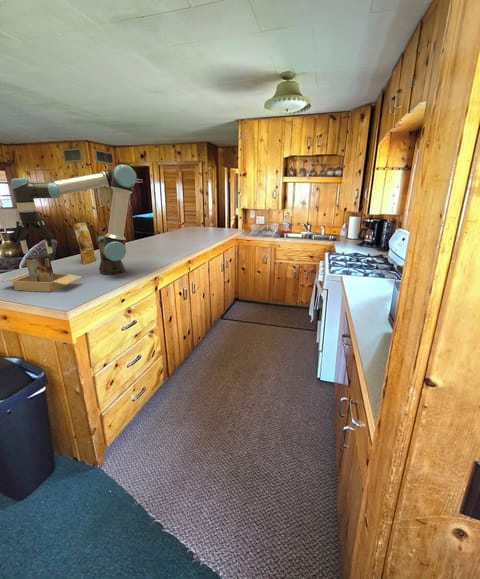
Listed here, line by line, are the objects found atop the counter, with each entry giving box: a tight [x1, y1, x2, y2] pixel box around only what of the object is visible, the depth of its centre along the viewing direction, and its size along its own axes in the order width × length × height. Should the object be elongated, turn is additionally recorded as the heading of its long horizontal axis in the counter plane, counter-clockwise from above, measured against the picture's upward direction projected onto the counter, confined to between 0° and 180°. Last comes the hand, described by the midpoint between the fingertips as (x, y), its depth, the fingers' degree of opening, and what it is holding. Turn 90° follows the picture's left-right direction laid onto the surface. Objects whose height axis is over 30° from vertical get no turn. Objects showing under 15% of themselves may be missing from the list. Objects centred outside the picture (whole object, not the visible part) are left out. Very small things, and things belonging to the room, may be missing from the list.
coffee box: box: [25, 254, 55, 282], centre depth 157 cm, size 9×6×16 cm
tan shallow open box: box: [12, 272, 71, 293], centre depth 159 cm, size 21×16×5 cm
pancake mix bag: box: [72, 221, 97, 265], centre depth 209 cm, size 7×19×28 cm, turn 176°
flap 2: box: [53, 273, 83, 286], centre depth 157 cm, size 1×14×7 cm
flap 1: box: [0, 272, 29, 283], centre depth 159 cm, size 1×14×7 cm
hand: (38, 253), depth 154 cm, fingers open, 13 cm apart
